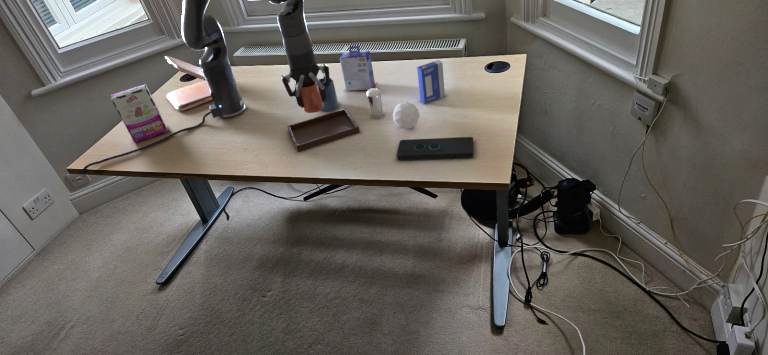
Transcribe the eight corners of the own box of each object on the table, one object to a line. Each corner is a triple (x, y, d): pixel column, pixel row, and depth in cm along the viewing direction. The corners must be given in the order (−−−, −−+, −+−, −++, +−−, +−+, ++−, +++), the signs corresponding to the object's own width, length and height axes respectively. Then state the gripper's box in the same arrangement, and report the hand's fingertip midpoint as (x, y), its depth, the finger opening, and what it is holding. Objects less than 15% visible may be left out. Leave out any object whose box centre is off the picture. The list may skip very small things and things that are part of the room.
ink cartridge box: (375, 83, 168) (369, 43, 160) (372, 89, 164) (365, 50, 155) (349, 84, 170) (341, 45, 162) (345, 91, 166) (337, 51, 158)
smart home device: (400, 139, 130) (473, 135, 126) (400, 144, 131) (473, 141, 127) (396, 155, 124) (473, 152, 120) (397, 161, 125) (473, 158, 121)
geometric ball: (402, 133, 141) (389, 110, 141) (425, 121, 140) (413, 97, 140) (398, 134, 134) (385, 109, 134) (423, 121, 132) (410, 96, 132)
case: (233, 93, 179) (218, 53, 170) (178, 113, 171) (160, 72, 162) (216, 79, 194) (202, 41, 185) (165, 97, 185) (148, 59, 176)
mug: (302, 107, 141) (295, 82, 136) (321, 101, 142) (315, 77, 138) (308, 118, 134) (301, 93, 130) (328, 112, 136) (322, 87, 131)
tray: (298, 152, 136) (296, 146, 135) (289, 131, 147) (287, 125, 146) (360, 132, 140) (358, 126, 139) (346, 114, 151) (345, 108, 150)
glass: (322, 113, 154) (315, 88, 149) (317, 105, 160) (311, 81, 154) (340, 107, 156) (335, 82, 151) (335, 100, 161) (330, 76, 156)
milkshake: (388, 111, 148) (383, 82, 143) (381, 120, 145) (376, 90, 139) (375, 110, 150) (370, 82, 145) (368, 118, 146) (362, 89, 141)
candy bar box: (166, 126, 163) (146, 83, 154) (168, 132, 159) (147, 87, 150) (133, 137, 160) (110, 94, 150) (134, 143, 156) (110, 99, 147)
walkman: (425, 104, 149) (421, 68, 142) (420, 101, 151) (416, 66, 144) (445, 96, 151) (443, 61, 145) (441, 93, 154) (438, 58, 147)
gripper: (320, 38, 133) (332, 92, 143) (270, 51, 130) (286, 105, 140) (327, 45, 127) (339, 101, 137) (275, 59, 124) (291, 115, 134)
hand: (312, 103), depth 138 cm, fingers closed on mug, 6 cm apart
